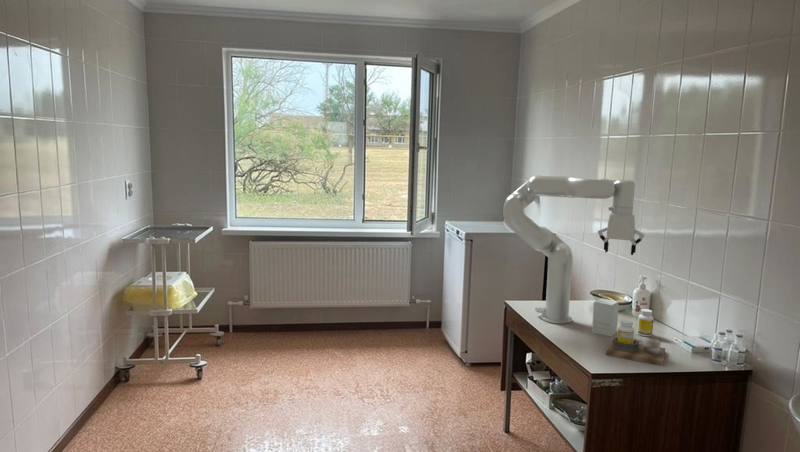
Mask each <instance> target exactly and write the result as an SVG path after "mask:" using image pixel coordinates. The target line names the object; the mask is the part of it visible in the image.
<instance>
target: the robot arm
mask: <svg viewBox="0 0 800 452" xmlns="http://www.w3.org/2000/svg"><path fill="white" fill-rule="evenodd" d="M635 187H636V184H635V181H633V180H630V179H629V180H628V179H617V180H616V179H608V178H600V179H591V178H590V179H589V178H577V177H575V176H566V175H565V176H562V175H561V176H560V175H559V176H557V175H556V176H553V175H541V174H539V175H538V174H536V175H533V176H531V177H530V178H528V180H527V181H526V182H524V183H523V184H522V185H521V186H520V187H518V188H517V189H516V190H515V191H513V192H512V193H511V194H510V195H508V196H507V198H505V201H504V204H503V209H502V210H503V211H502V216H503V219H504V222H505V223H506V225H507V226H508V227H509V229H511V230H512V231H513V232H514V233H515V234H516V235H518V237H520V238H521V239H522V240H523V241H524V242H525V243H526V244H528V246H529V247H531V248H532V249H533V250H535V251H537V252H541V253H542V254H543V255H544V256H546V257H547V258H548V259H547V274H546V276H547V278H546V279H547V280H546V291H545V292H546V293H545V295H546V297H545V306H543V307H540V306H535V308H534V309H535V312H536V313H537V314H538V313H539V314H541V315H540V317H541V318H540V319H541V320H542V321H545V322H546V323H551V324H554V325H555V324H557V325H566V324H570V323H572V322H573V317H572V316H570V314H569V313H570V300H571V299H570V296H571V286H572V285H571V283H572V271H573V270H572V269H573V261H574V260H573V259H574V258H573V252H572V250H571V247H570V246H569V245H568V244H567V243H566V242H564V241H563V240H562V239H561V238H559V236H557V235H556V234H555V233H554V232H552V231H551V230H550V229H548V228H547V227H545V226H540V225H538V224H537V223H536V222H535V221H533V219H531V218H530V217H528V216H527V214H526V213H525V211H524V210H525V209H526V208H527V207H528V206H529V205H530V204H532V203H533V202H534V201H536V200H537V199H538V198H539V197H547V198H548V197H549V198H551V197H554V198H572V199H573V198H578V199H579V198H580V199H581V198H582V199H594V200H595V199H598V200H601V199H602V200H605V199H607V200H608V199H609V198H611V197H612V198H613V199H612V206H610V207H608V211H610V212H611V213H610V214H609V217H608V220H607V227H604V228H602V229H598V231H597V233H598V236H599V238H600V239H601V240H602V241H603V250H604V251H605V252H604V253H608V252H609V245H610V243H609V240H610V239H611V240H618V241H620V240H621V241H629V242H630V243H631V248H630V255H631V256H633V255H634V254H635V253H636V248H637V247H636V246H637V245H638V244H639V243H640V242H642V240H643V239H644V237H645V234H644V233H642V232H641V231H639V230H637V229H636V219H635V214H634V212H633V211H634V202H635ZM605 232H606V237H605V236H604V234H603V233H605ZM636 235H637V236H639V237H638V238H637V239H635V236H636Z"/></svg>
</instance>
